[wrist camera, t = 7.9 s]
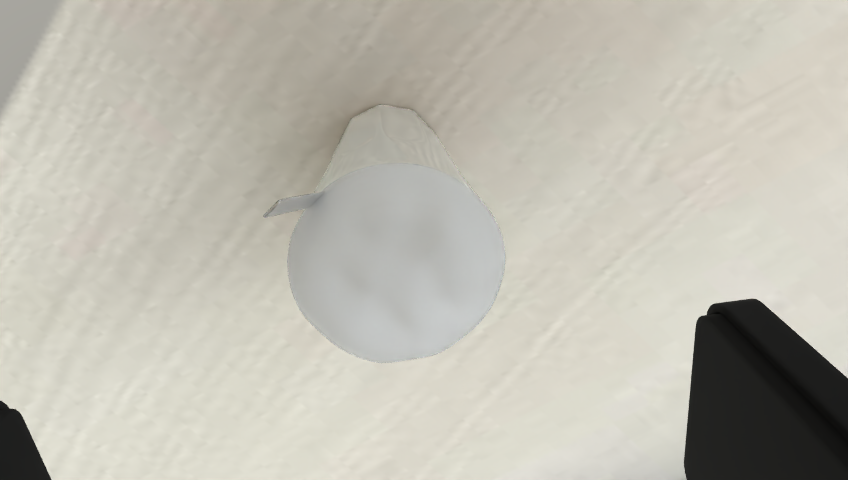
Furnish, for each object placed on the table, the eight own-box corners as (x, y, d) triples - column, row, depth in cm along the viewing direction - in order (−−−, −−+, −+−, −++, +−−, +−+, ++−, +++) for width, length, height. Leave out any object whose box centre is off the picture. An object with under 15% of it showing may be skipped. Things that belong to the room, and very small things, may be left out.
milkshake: (369, 30, 19) (368, 112, 10) (486, 154, 21) (573, 315, 12) (267, 134, 20) (184, 292, 11) (387, 243, 22) (398, 452, 13)
